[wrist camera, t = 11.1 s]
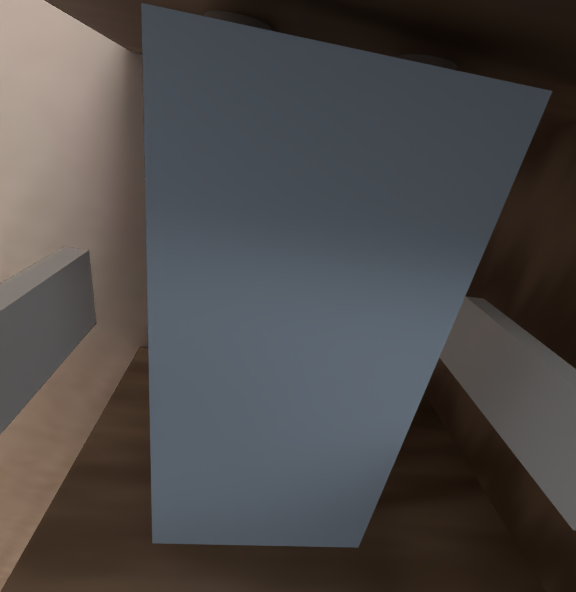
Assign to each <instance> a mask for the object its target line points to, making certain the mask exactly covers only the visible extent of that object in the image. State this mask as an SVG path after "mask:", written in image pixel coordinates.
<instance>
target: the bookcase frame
mask: <svg viewBox="0 0 576 592" xmlns="http://www.w3.org/2000/svg"><path fill="white" fill-rule="evenodd" d="M45 1H47V2H48V3H50V4H52V5H53V6H55V7H57V8H58V9H60V10H62V11H63V12H65V13H67V14H69V15H70V16H72V17H74V18H75V19H77V20H79V21H80V22H82V23H84V24H85V25H87V26H89V27H91V28H92V29H94V30H96V31H97V32H99V33H101V34H102V35H104V36H106V37H107V38H109V39H111V40H112V41H114V42H116V43H118V44H119V45H121V46H123V47H124V48H126V49H128V50H129V51H133V52H138V53H142V11H141V3H144V4H149V5H154V6H158V7H163V8H167V9H172V10H177V11H181V12H186V13H191V14H195V15H200V16H205V17H209V18H214V19H219V20H223V21H228V22H233V23H237V24H242V25H247V26H251V27H256V28H261V29H265V30H270V31H275V32H279V33H284V34H289V35H293V36H298V37H303V38H307V39H312V40H317V41H321V42H326V43H331V44H335V45H340V46H345V47H349V48H354V49H359V50H363V51H368V52H372V53H377V54H382V55H386V56H391V57H396V58H400V59H405V60H410V61H414V62H419V63H424V64H428V65H433V66H438V67H442V68H447V69H452V70H456V71H461V72H466V73H470V74H475V75H480V76H484V77H489V78H494V79H498V80H503V81H508V82H512V83H517V84H522V85H526V86H531V87H536V88H540V89H545V90H550V91H552V93H551V96H550V98H549V100H548V103H547V105H546V108H545V110H544V112H543V115H542V117H541V119H540V122H539V124H538V126H537V129H536V131H535V133H534V136H533V138H532V140H531V143H530V145H529V147H528V150H527V152H526V155H525V157H524V159H523V162H522V164H521V166H520V169H519V171H518V173H517V176H516V178H515V180H514V183H513V185H512V187H511V190H510V192H509V195H508V197H507V199H506V202H505V204H504V206H503V209H502V211H501V213H500V216H499V218H498V220H497V223H496V225H495V227H494V230H493V232H492V234H491V237H490V239H489V242H488V244H487V246H486V249H485V251H484V253H483V256H482V258H481V260H480V263H479V265H478V267H477V270H476V272H475V274H474V277H473V279H472V282H471V284H470V286H469V289H468V291H467V293H466V296H467V297H475V298H483V299H485V300H486V301H488V302H489V303H490V304H492V305H493V306H494V307H495V308H497V309H498V310H499V311H501V312H502V313H503V314H505V315H506V316H507V317H509V318H510V319H511V320H512V321H514V322H515V323H516V324H518V325H519V326H520V327H522V328H523V329H524V330H525V331H527V332H528V333H529V334H531V335H532V336H533V337H535V338H536V339H537V340H539V341H540V342H541V343H542V344H544V345H545V346H546V347H548V348H549V349H550V350H552V351H553V352H554V353H555V354H557V355H558V356H559V357H561V358H562V359H563V360H565V361H566V362H567V363H569V364H570V365H571V366H572V367H574V368H575V369H576V0H45ZM1 592H576V530H573V529H572V528H571V527H570V526H569V524H568V523H567V522H566V520H565V519H564V518H563V516H562V515H561V514H560V513H559V511H558V510H557V509H556V507H555V506H554V505H553V504H552V502H551V501H550V500H549V498H548V497H547V496H546V495H545V493H544V492H543V491H542V489H541V488H540V487H539V485H538V484H537V483H536V482H535V480H534V479H533V478H532V476H531V475H530V474H529V473H528V471H527V470H526V469H525V467H524V466H523V465H522V463H521V462H520V461H519V460H518V458H517V457H516V456H515V454H514V453H513V452H512V451H511V449H510V448H509V447H508V445H507V444H506V443H505V442H504V440H503V439H502V438H501V436H500V435H499V434H498V432H497V431H496V430H495V429H494V427H493V426H492V425H491V423H490V422H489V421H488V420H487V418H486V417H485V416H484V414H483V413H482V412H481V410H480V409H479V408H478V407H477V405H476V404H475V403H474V401H473V400H472V399H471V398H470V396H469V395H468V394H467V392H466V391H465V390H464V388H463V387H462V386H461V385H460V383H459V382H458V381H457V379H456V378H455V377H454V376H453V374H452V373H451V372H450V370H449V369H448V368H447V367H446V365H445V364H444V363H443V361H442V360H441V359H440V357H439V359H438V361H437V364H436V366H435V369H434V371H433V373H432V376H431V378H430V380H429V383H428V385H427V387H426V390H425V392H424V394H423V397H422V399H421V401H420V404H419V406H418V409H417V411H416V413H415V416H414V418H413V420H412V423H411V425H410V427H409V430H408V432H407V434H406V437H405V439H404V441H403V444H402V446H401V448H400V451H399V453H398V456H397V458H396V460H395V463H394V465H393V467H392V470H391V472H390V474H389V477H388V479H387V481H386V484H385V486H384V488H383V491H382V493H381V496H380V498H379V500H378V503H377V505H376V507H375V510H374V512H373V514H372V517H371V519H370V521H369V524H368V526H367V528H366V531H365V533H364V536H363V538H362V540H361V543H360V545H359V547H358V548H355V547H307V546H258V545H209V544H161V543H152V504H151V455H150V406H149V356H148V348H144V347H140V348H139V349H138V351H137V353H136V355H135V356H134V358H133V360H132V362H131V363H130V365H129V367H128V369H127V370H126V372H125V374H124V376H123V378H122V379H121V381H120V383H119V385H118V386H117V388H116V390H115V392H114V393H113V395H112V397H111V399H110V400H109V402H108V404H107V406H106V407H105V409H104V411H103V413H102V414H101V416H100V418H99V420H98V422H97V423H96V425H95V427H94V429H93V430H92V432H91V434H90V436H89V437H88V439H87V441H86V443H85V444H84V446H83V448H82V450H81V451H80V453H79V455H78V457H77V458H76V460H75V462H74V464H73V466H72V467H71V469H70V471H69V473H68V474H67V476H66V478H65V480H64V481H63V483H62V485H61V487H60V488H59V490H58V492H57V494H56V495H55V497H54V499H53V501H52V502H51V504H50V506H49V508H48V509H47V511H46V513H45V515H44V517H43V518H42V520H41V522H40V524H39V525H38V527H37V529H36V531H35V532H34V534H33V536H32V538H31V539H30V541H29V543H28V545H27V546H26V548H25V550H24V552H23V553H22V555H21V557H20V559H19V561H18V562H17V564H16V566H15V568H14V569H13V571H12V573H11V575H10V576H9V578H8V580H7V582H6V583H5V585H4V587H3V589H2V590H1Z"/></svg>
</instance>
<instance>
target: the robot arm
mask: <svg viewBox="0 0 576 592" xmlns="http://www.w3.org/2000/svg"><path fill="white" fill-rule="evenodd" d="M95 324H96V316H95V306H94V295H93V285H92V274H91V264H90V253H89V250H87V249H79V248H71V247H62V248H60V249H59V250H57V251H55V252H54V253H52V254H50V255H49V256H47V257H45V258H43V259H42V260H40V261H38V262H37V263H35V264H33V265H31V266H30V267H28V268H26V269H25V270H23V271H21V272H20V273H18V274H16V275H14V276H13V277H11V278H9V279H8V280H6V281H4V282H2V283H1V284H0V434H1V433H2V432H3V431H4V430H5V429H6V427H7V426H8V425H9V424H10V423H11V422H12V420H13V419H14V418H15V417H16V416H17V415H18V413H19V412H20V411H21V410H22V409H23V408H24V407H25V405H26V404H27V403H28V402H29V401H30V400H31V398H32V397H33V396H34V395H35V394H36V393H37V391H38V390H39V389H40V388H41V387H42V386H43V384H44V383H45V382H46V381H47V380H48V379H49V378H50V376H51V375H52V374H53V373H54V372H55V371H56V369H57V368H58V367H59V366H60V365H61V364H62V362H63V361H64V360H65V359H66V358H67V357H68V356H69V354H70V353H71V352H72V351H73V350H74V349H75V347H76V346H77V345H78V344H79V343H80V342H81V340H82V339H83V338H84V337H85V336H86V335H87V333H88V332H89V331H90V330H91V329H92V328H93V327H94V325H95ZM440 359H441V360H442V361H443V363H444V364H445V365H446V367H447V368H448V369H449V370H450V372H451V373H452V374H453V376H454V377H455V378H456V379H457V381H458V382H459V383H460V385H461V386H462V387H463V388H464V390H465V391H466V392H467V394H468V395H469V396H470V398H471V399H472V400H473V401H474V403H475V404H476V405H477V407H478V408H479V409H480V410H481V412H482V413H483V414H484V416H485V417H486V418H487V420H488V421H489V422H490V423H491V425H492V426H493V427H494V429H495V430H496V431H497V432H498V434H499V435H500V436H501V438H502V439H503V440H504V442H505V443H506V444H507V445H508V447H509V448H510V449H511V451H512V452H513V453H514V454H515V456H516V457H517V458H518V460H519V461H520V462H521V463H522V465H523V466H524V467H525V469H526V470H527V471H528V473H529V474H530V475H531V476H532V478H533V479H534V480H535V482H536V483H537V484H538V485H539V487H540V488H541V489H542V491H543V492H544V493H545V495H546V496H547V497H548V498H549V500H550V501H551V502H552V504H553V505H554V506H555V507H556V509H557V510H558V511H559V513H560V514H561V515H562V516H563V518H564V519H565V520H566V522H567V523H568V524H569V526H570V527H571V528H572V529H573V530H576V369H575V368H574V367H572V366H571V365H570V364H569V363H567V362H566V361H565V360H563V359H562V358H561V357H559V356H558V355H557V354H555V353H554V352H553V351H552V350H550V349H549V348H548V347H546V346H545V345H544V344H542V343H541V342H540V341H539V340H537V339H536V338H535V337H533V336H532V335H531V334H529V333H528V332H527V331H525V330H524V329H523V328H522V327H520V326H519V325H518V324H516V323H515V322H514V321H512V320H511V319H510V318H509V317H507V316H506V315H505V314H503V313H502V312H501V311H499V310H498V309H497V308H495V307H494V306H493V305H492V304H490V303H489V302H488V301H486V300H485V299H483V298H475V297H467V296H465V298H464V300H463V303H462V305H461V307H460V310H459V312H458V314H457V317H456V319H455V322H454V324H453V326H452V329H451V331H450V333H449V336H448V338H447V340H446V343H445V345H444V347H443V350H442V352H441V354H440Z"/></svg>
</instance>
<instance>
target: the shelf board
mask: <svg viewBox="0 0 576 592" xmlns="http://www.w3.org/2000/svg"><path fill="white" fill-rule="evenodd" d="M141 11H142V61H143V110H144V159H145V208H146V258H147V307H148V356H149V406H150V455H151V504H152V543H161V544H209V545H258V546H307V547H355V548H358V547H359V545H360V543H361V540H362V538H363V536H364V533H365V531H366V528H367V526H368V524H369V521H370V519H371V517H372V514H373V512H374V510H375V507H376V505H377V503H378V500H379V498H380V496H381V493H382V491H383V488H384V486H385V484H386V481H387V479H388V477H389V474H390V472H391V470H392V467H393V465H394V463H395V460H396V458H397V456H398V453H399V451H400V448H401V446H402V444H403V441H404V439H405V437H406V434H407V432H408V430H409V427H410V425H411V423H412V420H413V418H414V416H415V413H416V411H417V409H418V406H419V404H420V401H421V399H422V397H423V394H424V392H425V390H426V387H427V385H428V383H429V380H430V378H431V376H432V373H433V371H434V369H435V366H436V364H437V361H438V359H439V357H440V354H441V352H442V350H443V347H444V345H445V343H446V340H447V338H448V336H449V333H450V331H451V329H452V326H453V324H454V322H455V319H456V317H457V314H458V312H459V310H460V307H461V305H462V303H463V300H464V298H465V296H466V293H467V291H468V289H469V286H470V284H471V282H472V279H473V277H474V274H475V272H476V270H477V267H478V265H479V263H480V260H481V258H482V256H483V253H484V251H485V249H486V246H487V244H488V242H489V239H490V237H491V234H492V232H493V230H494V227H495V225H496V223H497V220H498V218H499V216H500V213H501V211H502V209H503V206H504V204H505V202H506V199H507V197H508V195H509V192H510V190H511V187H512V185H513V183H514V180H515V178H516V176H517V173H518V171H519V169H520V166H521V164H522V162H523V159H524V157H525V155H526V152H527V150H528V147H529V145H530V143H531V140H532V138H533V136H534V133H535V131H536V129H537V126H538V124H539V122H540V119H541V117H542V115H543V112H544V110H545V108H546V105H547V103H548V100H549V98H550V96H551V93H552V91H550V90H545V89H540V88H536V87H531V86H526V85H522V84H517V83H512V82H508V81H503V80H498V79H494V78H489V77H484V76H480V75H475V74H470V73H466V72H461V71H456V70H452V69H447V68H442V67H438V66H433V65H428V64H424V63H419V62H414V61H410V60H405V59H400V58H396V57H391V56H386V55H382V54H377V53H372V52H368V51H363V50H359V49H354V48H349V47H345V46H340V45H335V44H331V43H326V42H321V41H317V40H312V39H307V38H303V37H298V36H293V35H289V34H284V33H279V32H275V31H270V30H265V29H261V28H256V27H251V26H247V25H242V24H237V23H233V22H228V21H223V20H219V19H214V18H209V17H205V16H200V15H195V14H191V13H186V12H181V11H177V10H172V9H167V8H163V7H158V6H154V5H149V4H144V3H141Z"/></svg>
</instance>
